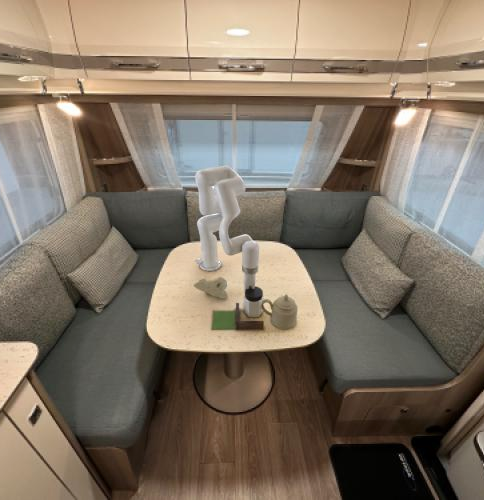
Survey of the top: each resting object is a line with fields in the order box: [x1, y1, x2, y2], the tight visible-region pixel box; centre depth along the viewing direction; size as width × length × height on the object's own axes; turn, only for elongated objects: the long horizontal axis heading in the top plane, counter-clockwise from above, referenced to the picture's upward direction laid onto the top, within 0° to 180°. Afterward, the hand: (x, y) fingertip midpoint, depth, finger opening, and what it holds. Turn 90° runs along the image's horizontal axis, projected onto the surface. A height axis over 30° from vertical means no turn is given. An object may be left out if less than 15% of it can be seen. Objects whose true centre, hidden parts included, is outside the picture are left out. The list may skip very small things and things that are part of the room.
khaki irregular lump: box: [193, 276, 228, 300], centre depth 136 cm, size 15×7×15 cm
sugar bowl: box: [261, 294, 299, 330], centre depth 117 cm, size 15×11×15 cm
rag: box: [211, 310, 236, 330], centre depth 121 cm, size 10×11×1 cm
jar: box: [243, 285, 265, 318], centre depth 123 cm, size 9×8×12 cm
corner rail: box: [235, 302, 265, 331], centre depth 121 cm, size 12×13×4 cm
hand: (249, 298), depth 131 cm, fingers closed
